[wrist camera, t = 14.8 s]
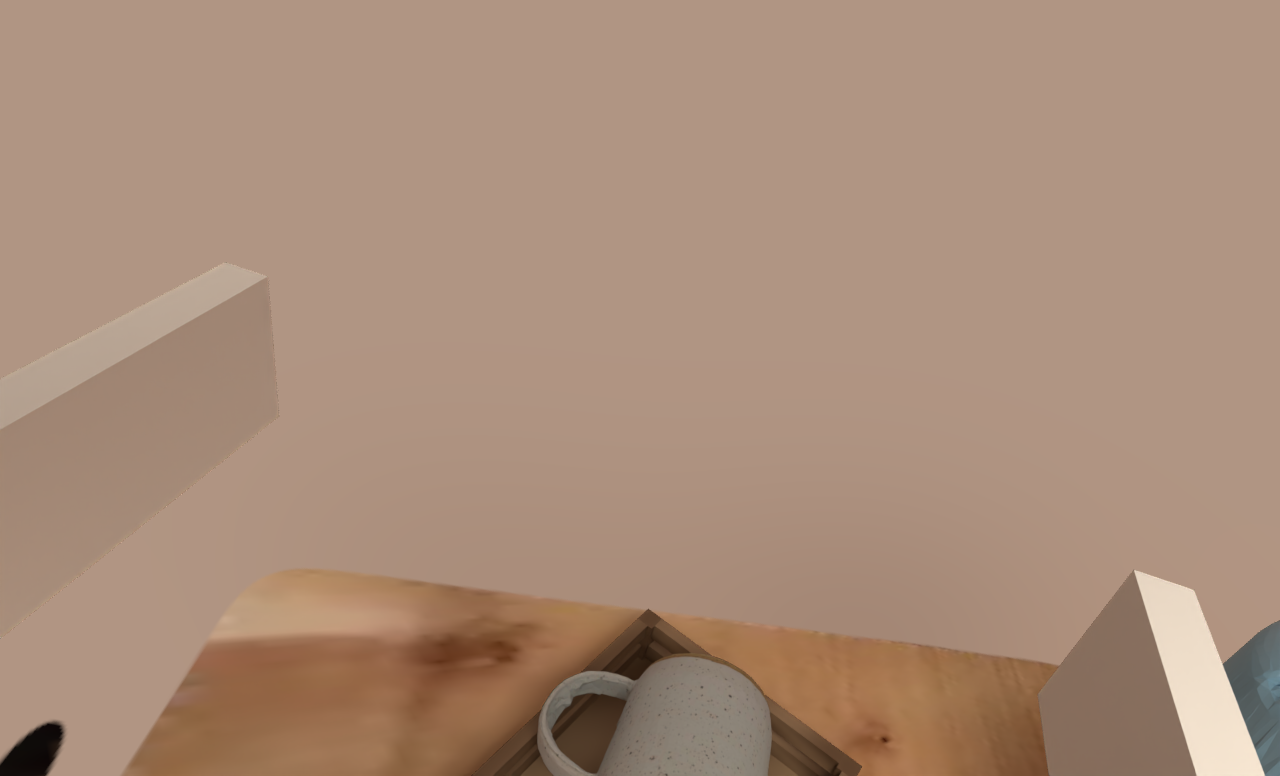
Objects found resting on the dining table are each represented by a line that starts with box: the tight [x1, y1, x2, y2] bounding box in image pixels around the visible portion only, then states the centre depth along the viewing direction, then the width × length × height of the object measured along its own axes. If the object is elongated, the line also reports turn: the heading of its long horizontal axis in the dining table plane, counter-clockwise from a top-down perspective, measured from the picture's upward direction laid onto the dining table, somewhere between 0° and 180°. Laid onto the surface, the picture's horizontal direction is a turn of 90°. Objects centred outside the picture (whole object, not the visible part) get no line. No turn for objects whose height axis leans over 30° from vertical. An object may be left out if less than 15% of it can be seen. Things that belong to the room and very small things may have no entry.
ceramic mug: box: [537, 653, 772, 776], centre depth 38 cm, size 11×8×8 cm
